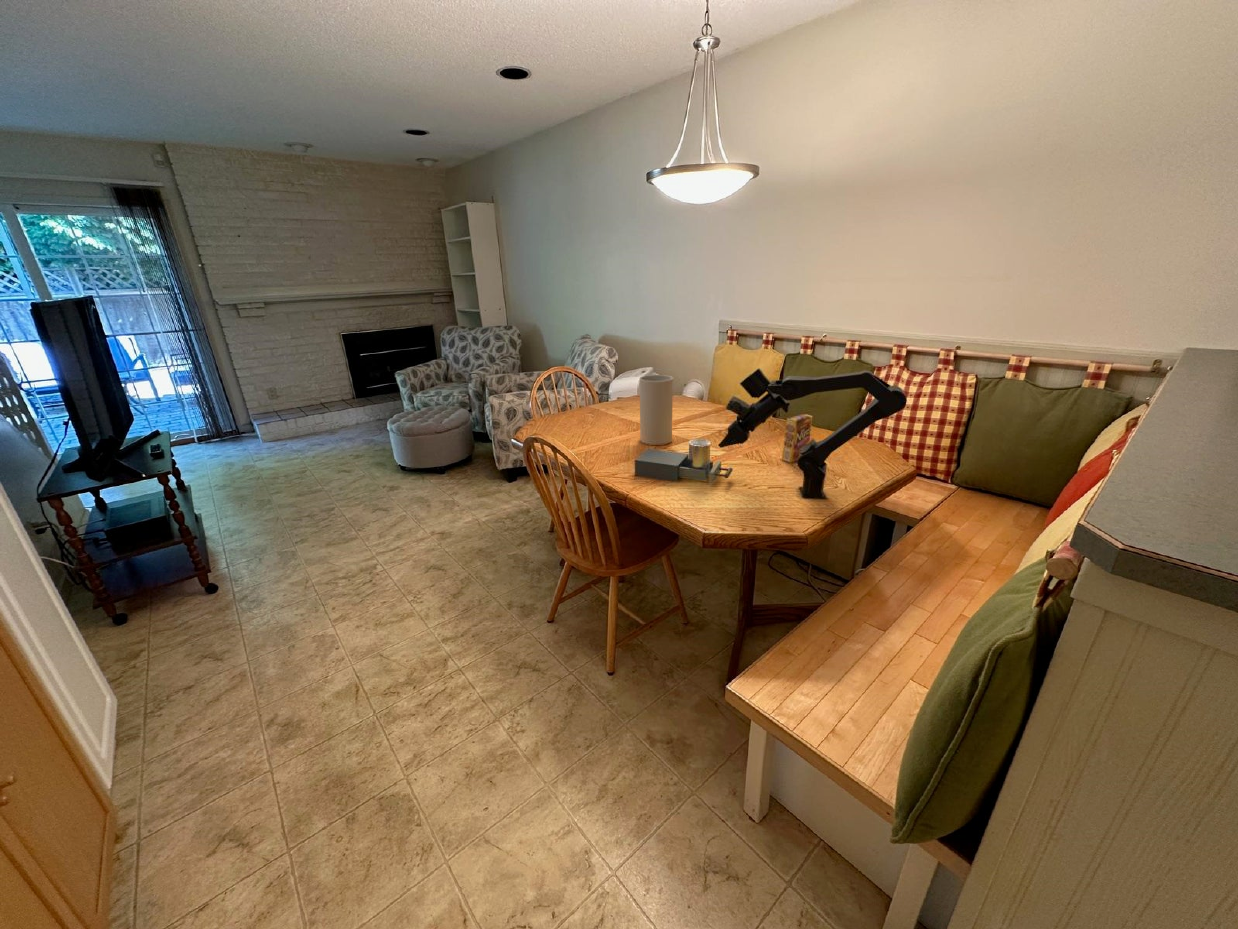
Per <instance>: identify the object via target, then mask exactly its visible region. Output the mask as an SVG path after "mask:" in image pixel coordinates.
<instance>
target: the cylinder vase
mask: <svg viewBox="0 0 1238 929" xmlns="http://www.w3.org/2000/svg"><path fill="white" fill-rule="evenodd" d="M673 387H674V378H673V376H671V375H665V374H648V375H642V376H640V377H639V425H640V427H639V435H640V436H639V437H640V442H641V443H642V444H645V445H648V446H649V445H650V446H662V445H668V444H669V443H671V442H672V440H673V400H674V399H673V398H674V394H673V391H674V390H673V389H674V388H673Z"/></svg>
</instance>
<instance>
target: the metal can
mask: <svg viewBox="0 0 1238 929" xmlns="http://www.w3.org/2000/svg"><path fill="white" fill-rule="evenodd" d="M711 445H712V444H711V441H709V440H707V439H704V438H703V439H701V438H697V439H692V440H689V441H688V454H689V455H688V458H689V468H692V469H700V470H707V473H706V475H707V474H709V467H710V461H711Z"/></svg>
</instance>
